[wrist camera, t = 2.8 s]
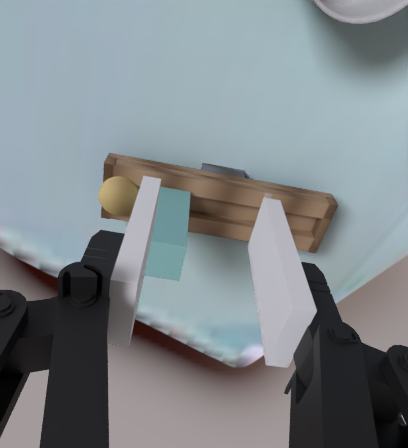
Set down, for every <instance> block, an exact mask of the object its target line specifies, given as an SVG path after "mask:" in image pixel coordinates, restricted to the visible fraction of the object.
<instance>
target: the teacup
mask: <svg viewBox="0 0 408 448" xmlns="http://www.w3.org/2000/svg"><path fill="white" fill-rule="evenodd" d="M311 1H312V2H313V3H314V4H315V5H316V6H318V7H319V8H320V9H321V10H322V11H323V12H324V13H325V14H327V15H328V16H330V17H332V18H333V19H335V20H338V21H340V22H344V23H350V24H368V23H373V22H377V21H380V20H383V19H385V18H388V17H390V16H392V15H394V14H396V13H397V12H399V11H400V10H402V9H403V8H404V7H406V6H407V5H408V0H311Z"/></svg>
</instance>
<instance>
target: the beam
mask: <svg viewBox="0 0 408 448" xmlns="http://www.w3.org/2000/svg"><path fill="white" fill-rule="evenodd" d="M143 176H148V177H154V178H159V179H161V185H160V187H166V188H172V189H177V190H183V191H189V192H191V194H190V208H189V221H188V231H189V232H195V233H201V234H207V235H213V236H219V237H225V238H231V239H237V240H243V241H250V238H251V235H252V231H253V228H254V225H255V222H256V219H257V216H258V213H259V210H260V207H261V204H262V201H263V198H264V197H265V198H270V199H276V200H280V201H281V204H282V207H283V210H284V213H285V216H286V219H287V222H288V225H289V228H290V231H291V234H292V237H293V240H294V243H295V246H296V249H297V250H303V251H308V252H310V253H316V252H317V250H318V248H319V245H320V243H321V241H322V239H323V237H324V234H325V232H326V230H327V228H328V226H329V224H330V221H331V219H332V217H333V215H334V213H335V210H336V208H337V206H338V204H337V202H336V200H335V199H334V197H333V195H332V194H328V193H323V192H318V191H312V190H307V189H301V188H296V187H291V186H285V185H280V184H274V183H269V182H264V181H258V180H253V179H247V178H245V174H244V171H243V170H238V169H232V168H227V167H222V166H216V165H211V164H206V163H203V164H202V169H201V170H199V169H193V168H188V167H182V166H177V165H172V164H166V163H161V162H155V161H150V160H145V159H139V158H134V157H128V156H123V155H117V154H112V153H109V155H108V156H107V158H106V160H105V162H104V175H103V185H102V187H101V189H100V191H99V201H100V204H101V205H102V210H101V218H107V219H110V218H111V219H117V220H123V221H129V220H130V217H131V214H132V210H133V207H134V204H135V201H136V198H137V195H138V192H139V189H140V185H141V182H142V179H143Z"/></svg>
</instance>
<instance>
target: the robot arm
mask: <svg viewBox="0 0 408 448" xmlns="http://www.w3.org/2000/svg"><path fill="white" fill-rule="evenodd" d="M160 185H161V179H159V178H154V177H148V176H143V179H142V182H141V185H140V189H139V192H138V195H137V198H136V201H135V204H134V207H133V210H132V214H131V217H130V220H129V223H128V226H127V229H126V232H125V234H122V233H116V232H110V231H104V230H100V231H99V232H98V233H96V234H95V235H94V236H92V237H91V239H90V242H89V244H88V246H87V248H86V251H85V253H84V256H83V257H82V260H81V262H75V263H72V264H70V265H67V266H66V267H64V268H63V269H62V270H61V271H60V273H59V275H58V296H56V297H53V298H50V299H44V300H37V301H26V298H25V297H24V296H23V295H22V294H21V293H19V292H16V291H12V290H0V437H1V435H2V433H3V430H4V428H5V426H6V424H7V422H8V419H9V417H10V415H11V413H12V411H13V409H14V407H15V404H16V402H17V400H18V398H19V396H20V393H21V391H22V389H23V387H24V385H25V383H26V381H27V378H28V376H29V374H30V372H36V371H42V370H47V369H49V376H48V384H47V392H46V400H45V409H44V417H43V424H42V432H41V440H40V448H109V423H108V422H109V421H108V364H107V363H108V356H107V344H112V345H119V346H127V347H129V344H130V340H131V334H132V330H133V325H134V321H135V316H136V311H137V307H138V302H139V297H140V292H141V288H142V283H143V278H144V273H145V269H146V264H147V259H148V254H149V250H150V245H151V240H152V235H153V231H154V224H155V218H156V211H157V204H158V198H159V191H160ZM248 252H249V258H250V265H251V272H252V278H253V285H254V291H255V298H256V304H257V311H258V317H259V324H260V330H261V337H262V343H263V350H264V356H265V362H266V365H270V366H278V367H285V368H288V366H289V364H290V363H291V360H292V359H293V357H294V361H295V365H296V370H295V372H294V373H293V375H292V377H291V379H290V381H289V383H288V385H287V386H286V389H285V392H284V393H285V394H288V392H289V391H290V389H291V408H290V434H289V448H408V347H406V346H402V345H393V346H392V347H390V348H389V349H388V350H387V352H383V351H380V350H378V349H376V348H373V347H371V346H368V345H366V344H364V343H362V342H361V340H360V337H359V335H358V334H357V333H356V331H355V330H354V329H353V328H352V327H350V326H349V325H348V324H346V323H344V322H342V320H341V317H340V315H339V312H338V310H337V307H336V305H335V302H334V299H333V297H332V294H330V289H329V287H328V286H327V282H326V279H325V277H324V274H323V273H322V272H321V271H320V269H319V268H318V267H317V266H316V265H315V264H311V263H305V262H301V261H300V258H299V255H298V252H297V249H296V246H295V243H294V240H293V237H292V234H291V231H290V228H289V225H288V222H287V219H286V216H285V213H284V210H283V207H282V204H281V201H280V200H276V199H270V198H265V197H264V198H263V201H262V204H261V207H260V210H259V213H258V216H257V219H256V222H255V225H254V228H253V231H252V235H251V238H250V241H249V244H248ZM401 415H403V417H404V420H405V422H406V424H407V425H406V424H405V423H404V421H403V419H402V417H401Z"/></svg>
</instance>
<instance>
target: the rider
mask: <svg viewBox="0 0 408 448" xmlns="http://www.w3.org/2000/svg"><path fill="white" fill-rule="evenodd" d="M190 194H191V192H189V191H183V190H177V189H172V188H166V187H160V191H159V198H158V204H157V211H156V218H155V224H154V231H153V235H152V240H151V245H150V250H149V254H148V259H147V264H146V269H145V273H144V276H151V277H158V278H164V279H171V280H177V281H179V279H180V275H181V270H182V266H183V261H184V256H185V252H186V247H187V234H188V221H189V208H190Z"/></svg>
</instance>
